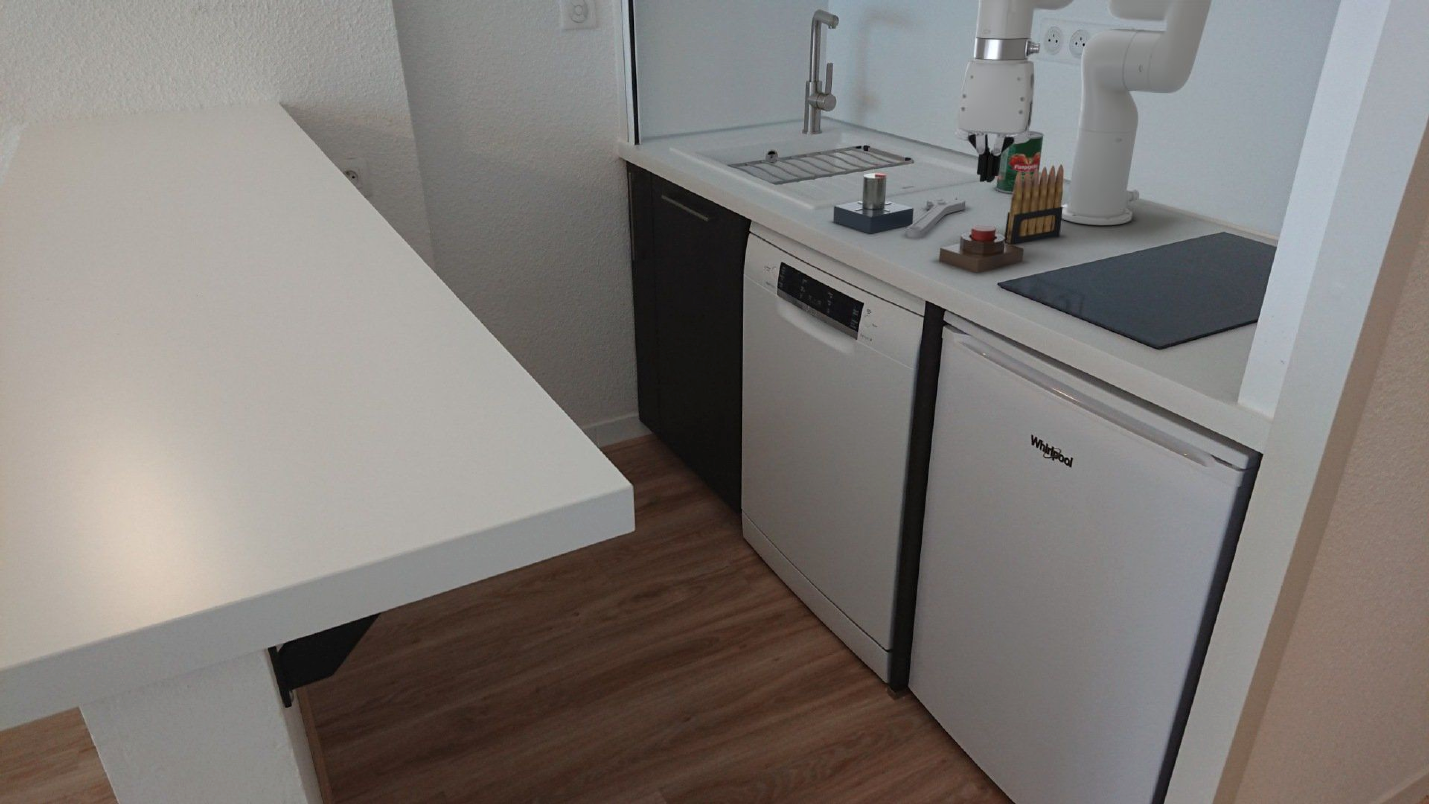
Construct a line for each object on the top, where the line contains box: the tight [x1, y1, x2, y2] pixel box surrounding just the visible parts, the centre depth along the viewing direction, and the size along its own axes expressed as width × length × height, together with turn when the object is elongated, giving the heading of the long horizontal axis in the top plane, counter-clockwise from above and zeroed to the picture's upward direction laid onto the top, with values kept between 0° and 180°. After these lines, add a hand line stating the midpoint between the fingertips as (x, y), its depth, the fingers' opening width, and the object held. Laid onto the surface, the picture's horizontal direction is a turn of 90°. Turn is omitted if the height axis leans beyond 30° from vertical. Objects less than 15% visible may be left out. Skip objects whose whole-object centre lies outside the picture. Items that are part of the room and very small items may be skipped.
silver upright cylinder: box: [861, 172, 888, 209], centre depth 169 cm, size 4×4×6 cm
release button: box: [970, 224, 997, 241], centre depth 147 cm, size 4×4×2 cm
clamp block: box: [833, 199, 915, 235], centre depth 170 cm, size 10×10×3 cm
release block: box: [938, 231, 1025, 274], centre depth 148 cm, size 10×8×4 cm
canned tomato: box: [995, 130, 1045, 195], centre depth 190 cm, size 8×8×11 cm
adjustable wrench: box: [906, 196, 966, 239], centre depth 172 cm, size 25×6×2 cm, turn 148°
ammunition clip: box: [1003, 164, 1064, 246], centre depth 157 cm, size 11×2×12 cm, turn 116°
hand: (987, 180), depth 143 cm, fingers closed
